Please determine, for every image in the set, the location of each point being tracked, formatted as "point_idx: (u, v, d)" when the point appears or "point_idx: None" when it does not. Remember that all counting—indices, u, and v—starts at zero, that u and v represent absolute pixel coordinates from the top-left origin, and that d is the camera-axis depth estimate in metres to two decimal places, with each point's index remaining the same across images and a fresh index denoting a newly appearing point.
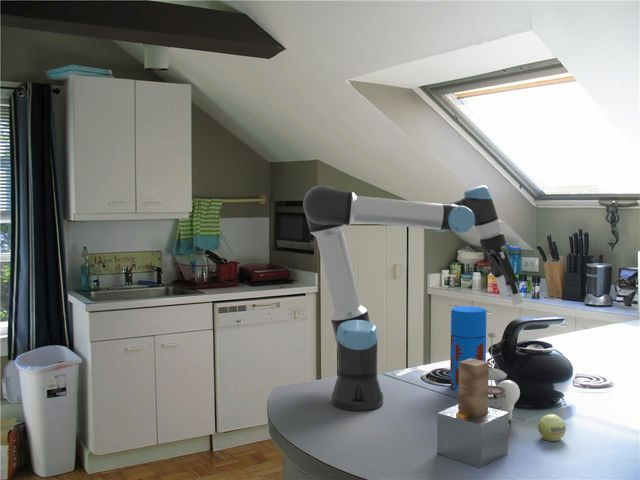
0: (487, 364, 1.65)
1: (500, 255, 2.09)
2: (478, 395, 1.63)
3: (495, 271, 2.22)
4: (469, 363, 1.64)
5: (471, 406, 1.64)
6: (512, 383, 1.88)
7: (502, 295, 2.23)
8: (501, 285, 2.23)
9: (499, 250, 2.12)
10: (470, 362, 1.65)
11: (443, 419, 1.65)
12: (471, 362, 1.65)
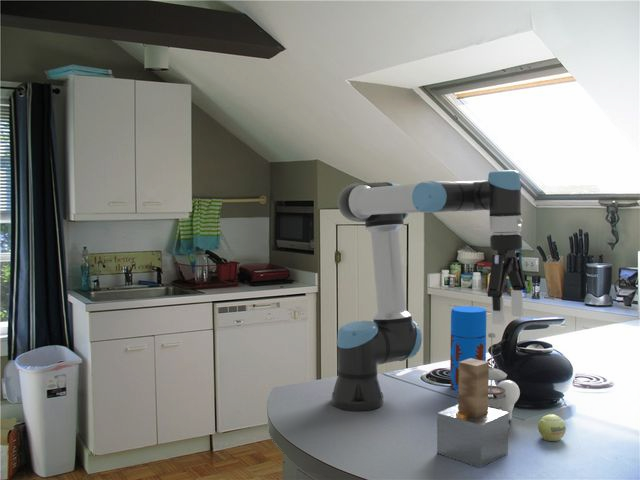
0: (487, 364, 1.65)
1: (494, 258, 1.66)
2: (478, 395, 1.63)
3: (511, 281, 1.77)
4: (469, 363, 1.64)
5: (471, 406, 1.64)
6: (512, 383, 1.88)
7: (513, 313, 1.78)
8: (515, 301, 1.78)
9: (502, 253, 1.68)
10: (470, 362, 1.65)
11: (443, 419, 1.65)
12: (471, 362, 1.65)
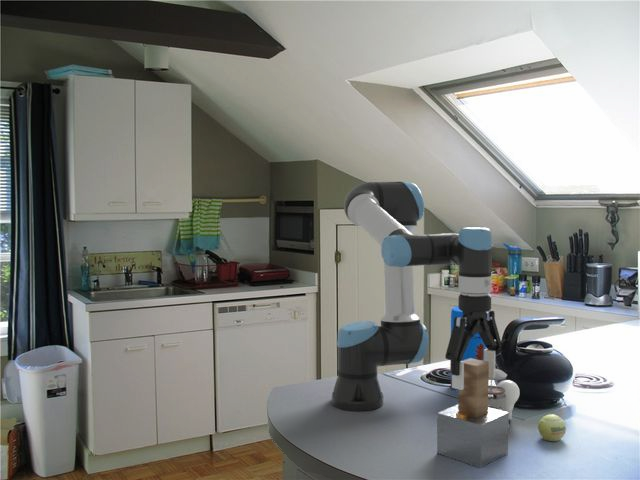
0: (487, 364, 1.65)
1: (456, 321, 1.60)
2: (478, 395, 1.63)
3: (483, 341, 1.69)
4: (469, 363, 1.64)
5: (471, 406, 1.64)
6: (512, 383, 1.88)
7: None
8: (487, 361, 1.70)
9: (466, 315, 1.61)
10: (470, 362, 1.65)
11: (443, 419, 1.65)
12: (471, 362, 1.65)
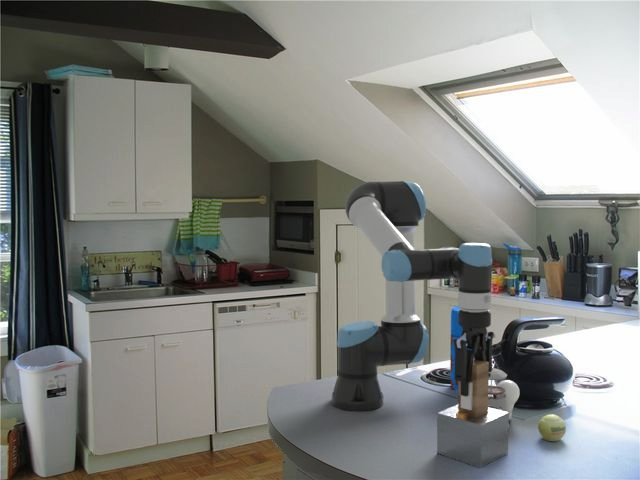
0: (487, 364, 1.65)
1: (456, 343, 1.61)
2: (478, 395, 1.63)
3: None
4: None
5: None
6: (512, 383, 1.88)
7: None
8: None
9: (466, 331, 1.62)
10: None
11: (443, 419, 1.65)
12: None
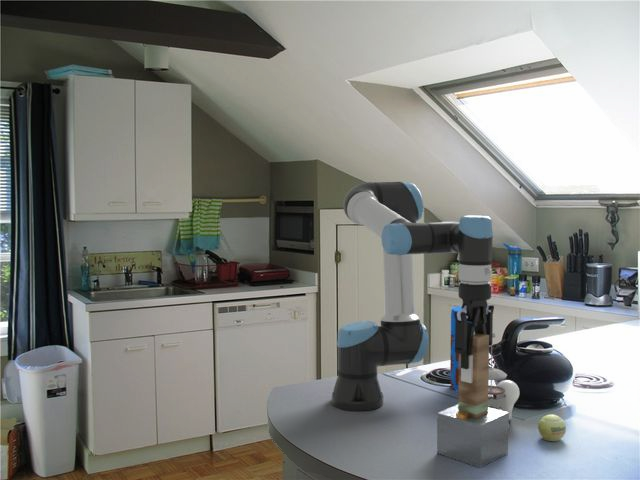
0: (487, 337, 1.65)
1: (456, 316, 1.60)
2: (479, 368, 1.63)
3: None
4: None
5: None
6: (512, 383, 1.88)
7: None
8: None
9: (466, 303, 1.61)
10: None
11: (443, 419, 1.65)
12: None
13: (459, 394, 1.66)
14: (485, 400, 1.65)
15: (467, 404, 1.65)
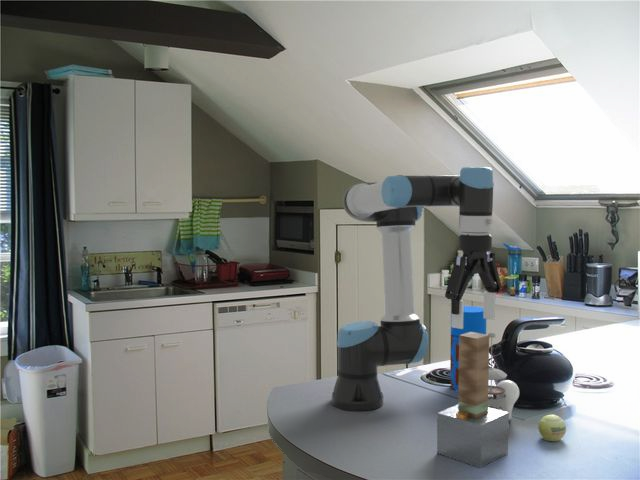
0: (487, 337, 1.65)
1: (456, 259, 1.59)
2: (479, 368, 1.63)
3: (483, 282, 1.69)
4: (469, 336, 1.64)
5: (472, 379, 1.63)
6: (512, 383, 1.88)
7: (484, 316, 1.70)
8: (487, 303, 1.69)
9: (467, 254, 1.60)
10: (470, 335, 1.64)
11: (443, 419, 1.65)
12: (471, 335, 1.64)
13: (459, 394, 1.66)
14: (485, 400, 1.65)
15: (467, 404, 1.65)
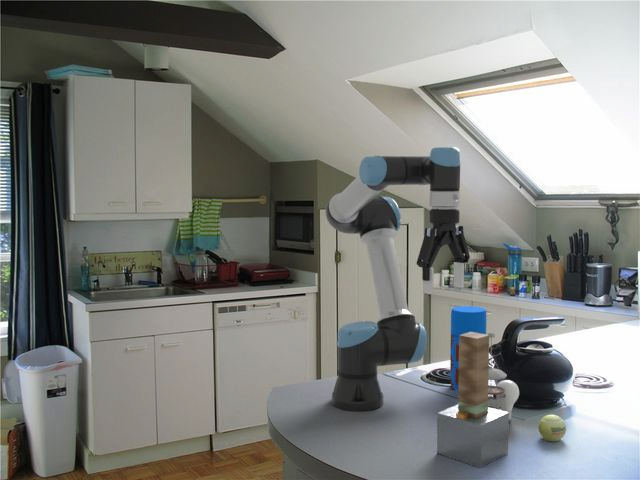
0: (487, 337, 1.65)
1: (426, 231, 1.75)
2: (479, 368, 1.63)
3: (453, 254, 1.85)
4: (469, 336, 1.64)
5: (472, 379, 1.63)
6: (511, 383, 1.88)
7: (454, 284, 1.86)
8: (457, 273, 1.85)
9: (436, 227, 1.77)
10: (470, 335, 1.64)
11: (443, 419, 1.65)
12: (471, 335, 1.64)
13: (459, 394, 1.66)
14: (485, 400, 1.65)
15: (467, 404, 1.65)
